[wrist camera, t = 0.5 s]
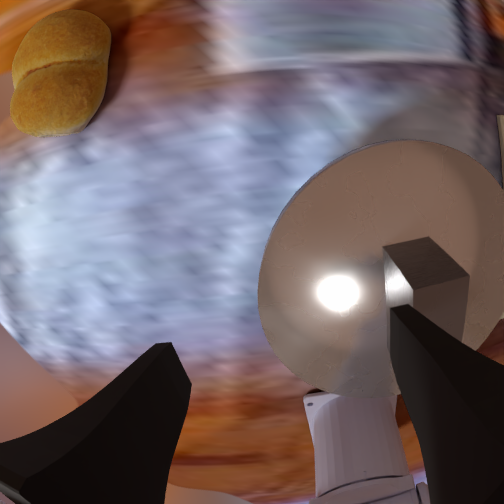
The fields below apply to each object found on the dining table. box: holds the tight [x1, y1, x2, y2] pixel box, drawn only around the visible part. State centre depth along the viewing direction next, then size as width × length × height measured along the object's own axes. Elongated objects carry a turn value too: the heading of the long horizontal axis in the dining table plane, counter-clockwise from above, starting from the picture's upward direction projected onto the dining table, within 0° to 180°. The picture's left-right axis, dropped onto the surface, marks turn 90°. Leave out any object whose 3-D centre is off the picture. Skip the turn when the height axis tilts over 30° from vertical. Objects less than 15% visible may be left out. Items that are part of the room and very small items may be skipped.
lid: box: [258, 139, 504, 398], centre depth 13 cm, size 15×15×5 cm
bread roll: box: [10, 9, 111, 137], centre depth 14 cm, size 8×9×4 cm
